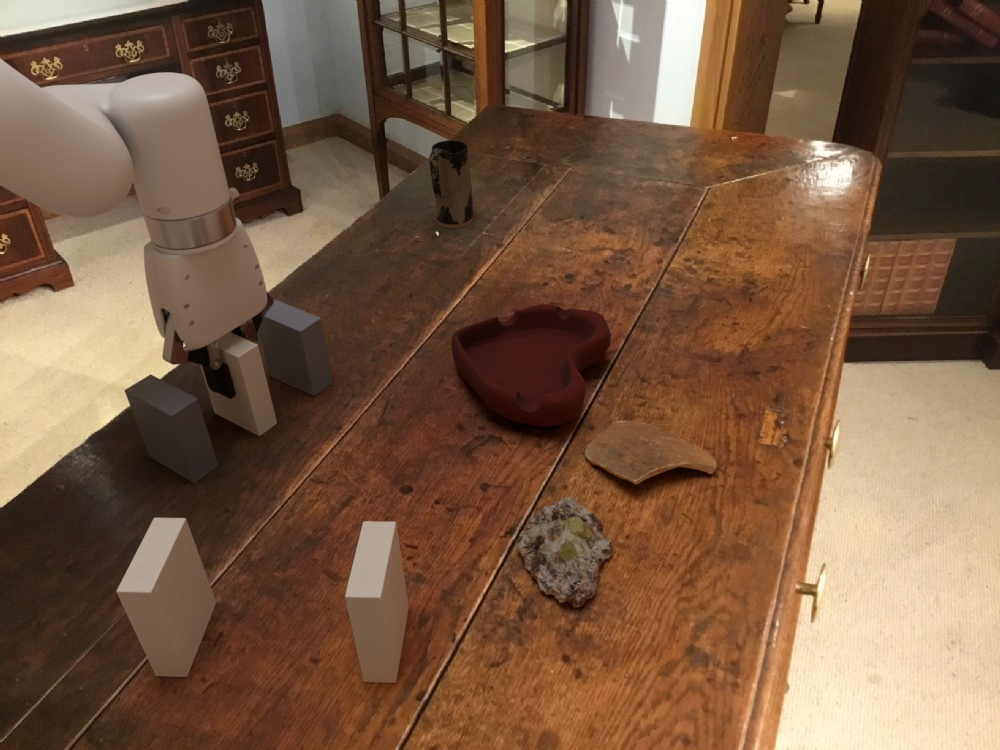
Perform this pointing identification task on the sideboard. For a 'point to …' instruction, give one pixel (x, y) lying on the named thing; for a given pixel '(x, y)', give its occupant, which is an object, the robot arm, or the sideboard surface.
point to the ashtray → (532, 362)
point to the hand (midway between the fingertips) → (235, 383)
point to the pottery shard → (644, 452)
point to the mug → (451, 183)
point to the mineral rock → (565, 551)
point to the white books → (190, 601)
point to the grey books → (177, 415)
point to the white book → (244, 386)
